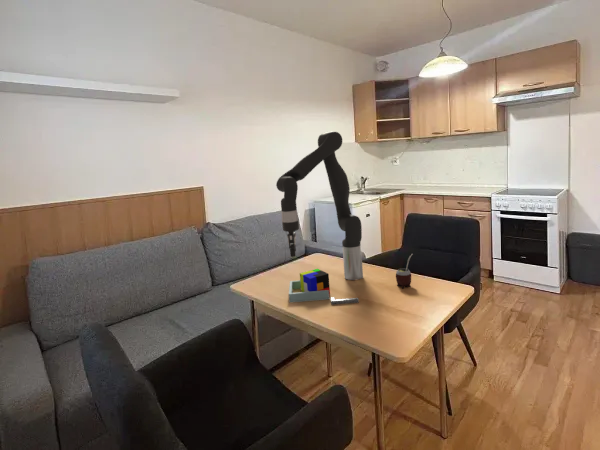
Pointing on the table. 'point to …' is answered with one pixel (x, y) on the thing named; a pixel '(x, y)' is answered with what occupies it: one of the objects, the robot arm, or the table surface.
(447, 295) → the table surface
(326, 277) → the puzzle toy
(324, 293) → the grey-blue flat square frame
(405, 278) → the mate gourd
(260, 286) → the table surface
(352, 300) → the crook tool
